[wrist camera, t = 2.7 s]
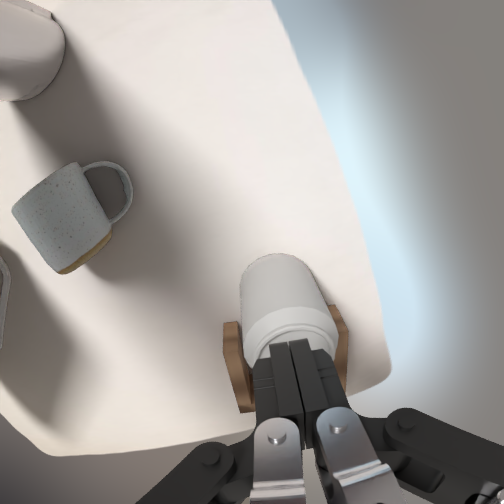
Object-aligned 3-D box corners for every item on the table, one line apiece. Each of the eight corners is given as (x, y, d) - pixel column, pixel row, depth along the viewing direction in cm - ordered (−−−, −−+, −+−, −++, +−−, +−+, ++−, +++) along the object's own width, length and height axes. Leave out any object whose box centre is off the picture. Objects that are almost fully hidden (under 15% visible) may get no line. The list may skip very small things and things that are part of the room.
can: (248, 319, 35) (255, 402, 24) (231, 258, 32) (232, 333, 21) (315, 304, 35) (346, 381, 24) (305, 242, 32) (342, 308, 21)
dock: (223, 323, 35) (223, 352, 30) (335, 304, 35) (348, 331, 30) (239, 383, 39) (240, 413, 34) (335, 367, 39) (345, 394, 34)
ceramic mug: (76, 257, 31) (45, 293, 24) (37, 195, 28) (-4, 217, 21) (153, 208, 30) (132, 236, 23) (111, 137, 27) (76, 143, 20)
